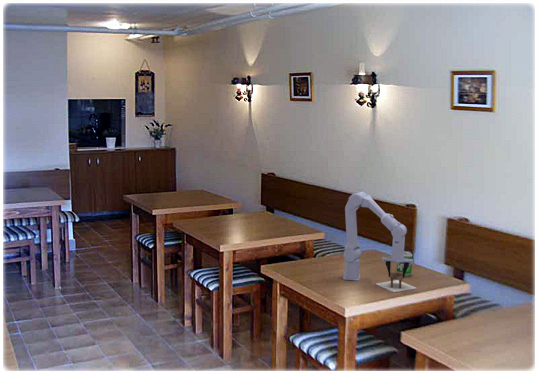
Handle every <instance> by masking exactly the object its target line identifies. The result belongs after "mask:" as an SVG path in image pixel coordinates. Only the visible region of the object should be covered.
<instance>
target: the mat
mask: <svg viewBox="0 0 538 374" xmlns="http://www.w3.org/2000/svg"><path fill="white" fill-rule="evenodd" d="M375 286H378V287H380V288H383V289H384V290H388V291H389V292H391V293H400V292H407V291H412V289H413V290H417V287H415V286H412V285H411V284H408V283H406V282H404V281H402V283H401V288H399V280H395V279H394V280H393V288H392V287H391V280H389V281H383V282H375Z"/></svg>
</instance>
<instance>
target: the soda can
mask: <svg viewBox="0 0 538 374" xmlns="http://www.w3.org/2000/svg"><path fill="white" fill-rule="evenodd" d="M413 255H414V254H412V252H411V251H409V250H408V251H407V250H404V258H406V259H413ZM403 267H404V263H396V272H402V277H403ZM412 268H413V264H409V267H408V268H407V270H406V273H405V276H406V277H410V276H411V275H412ZM409 275H410V276H409ZM405 276H404V277H405Z"/></svg>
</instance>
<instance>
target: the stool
mask: <svg viewBox="0 0 538 374" xmlns="http://www.w3.org/2000/svg"><path fill="white" fill-rule="evenodd" d="M389 278H390V281H391V287H392V288H393V281H395V280H399V288H401V283H402V282H403V276H402V272H397V270H396V271H394V270H390V277H389Z"/></svg>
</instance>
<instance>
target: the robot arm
mask: <svg viewBox="0 0 538 374" xmlns="http://www.w3.org/2000/svg"><path fill="white" fill-rule="evenodd" d="M360 207H361V208H368V209H369V210H370V211H372V212H373V213H374V214H375V215H376V216H377V217H379V218H380V222H381V223H382V225H384V226H385V227H386V228H387V229H388V230H389V232H390V233H391V235H392V244H391V246H392V247H391V256H382V257H381V262H382V263H385V266H386V269H387V273H388V277H389V278H390V277H391V267H392V265H391V264H392V263H396V264H397V263H404V267H403V276H402V279H405V273H406V270H407V268H408V267H409V264H412V265H413V264H414V259H413V258H412V259H406V258H404V251H405V242H406V241H405V240H406V234H407V233H408V229H407V226H406V225H404V224H403V223H401V222H400V221H398V220H397V219H395V218H394V215H393V214H390V213H386V212H385V211H384V210H383V209H382V208H381V207H380V206H379V205H378V204H377V203H376V201H375V200H374V199H373V197H372V196H371V195H370V194H369V193H367V192H366V191H361V190H360V191H359V192H357V193H352V194H351V195H350V196H349V197H348V200H347V202H346V205H345V207H344V212H345V213H344V215H345V232H346V233H345V235H346V244H345V246H344V251H343V253H342V255H343V259H344V274H343V277H342V280H345V281H346V280H347V281H356V282H358V281H360V278H361V274H360V262H361V260H360V258H361V257H362V255H363V251H362V249H361V244H360V243H359V241H358V225H357V223H358V222H357V211H358V209H359V208H360Z"/></svg>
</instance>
